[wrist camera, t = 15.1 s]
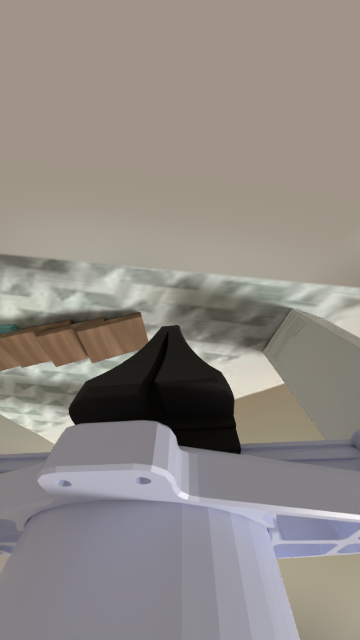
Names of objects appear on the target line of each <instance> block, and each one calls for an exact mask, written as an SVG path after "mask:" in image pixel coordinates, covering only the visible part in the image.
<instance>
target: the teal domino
mask: <svg viewBox="0 0 360 640" xmlns="http://www.w3.org/2000/svg"><path fill="white" fill-rule="evenodd" d="M17 330H19V329H18V328H17V326H16V325H15V324H14V325H4V326H0V334H4V333H9V332H13V331H17Z"/></svg>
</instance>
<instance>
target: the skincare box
mask: <svg viewBox="0 0 360 640" xmlns="http://www.w3.org/2000/svg"><path fill="white" fill-rule="evenodd" d="M263 353H264V355H265V356H266V358H267V359H268V360H269V362H270V363H271V364H272V366H273V367H274V369H275V370H276V371H277V373H278V374H279V375H280V377H281V378H282V380H283V381H284V382H285V384H286V385H287V387H288V388H289V389H290V391H291V392H292V394H293V395H294V396H295V398H296V399H297V401H298V402H299V403H300V405H301V406H302V407H303V409H304V410H305V412H306V413H307V414H308V416H309V417H310V419H311V420H312V421H313V423H314V424H315V426H316V427H317V428H318V430H319V431H320V433H321V434H322V435H323V437H324V438H325V440H341V439H351V436H352V434H353V432H354V431H355V430H357V429H359V428H360V338H359V337H357V336H355V335H353V334H351V333H350V332H348V331H346V330H344V329H342V328H340V327H338V326H336V325H335V324H333V323H331V322H329V321H327V320H324V319H321V318H318V317H315V316H312V315H310V314H307V313H304V312H301V311H298V310H295V309H291V311H290V312H289V313H288V315H287V316H286V318H285V320H284V321H283V323H282V324H281V325H280V327H279V328H278V330H277V331H276V333H275V334H274V336H273V337H272V339H271V340H270V342H269V343H268V345H267V346H266V348H265V349H264V350H263Z"/></svg>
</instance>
